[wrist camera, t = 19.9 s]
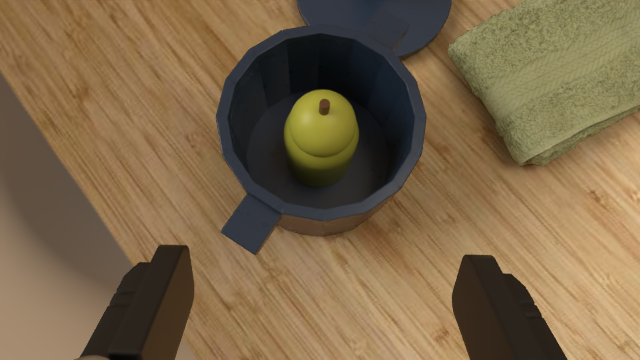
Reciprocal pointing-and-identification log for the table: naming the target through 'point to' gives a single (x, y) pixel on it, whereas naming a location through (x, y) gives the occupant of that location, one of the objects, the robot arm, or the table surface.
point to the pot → (275, 106)
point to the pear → (320, 138)
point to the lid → (405, 3)
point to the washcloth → (554, 72)
